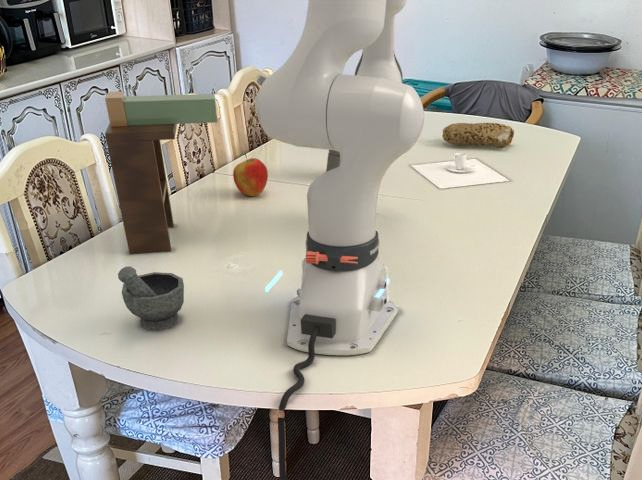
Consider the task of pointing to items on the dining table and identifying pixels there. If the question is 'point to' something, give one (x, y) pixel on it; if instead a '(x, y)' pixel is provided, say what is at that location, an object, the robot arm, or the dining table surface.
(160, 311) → the mortar and pestle
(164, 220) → the rack
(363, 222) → the robot arm
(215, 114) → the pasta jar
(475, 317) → the dining table surface
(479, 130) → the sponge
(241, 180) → the apple
